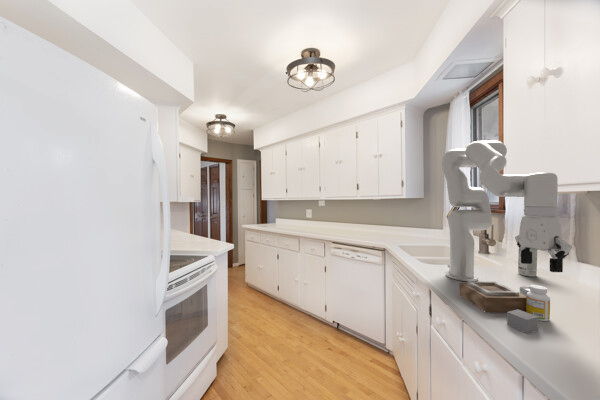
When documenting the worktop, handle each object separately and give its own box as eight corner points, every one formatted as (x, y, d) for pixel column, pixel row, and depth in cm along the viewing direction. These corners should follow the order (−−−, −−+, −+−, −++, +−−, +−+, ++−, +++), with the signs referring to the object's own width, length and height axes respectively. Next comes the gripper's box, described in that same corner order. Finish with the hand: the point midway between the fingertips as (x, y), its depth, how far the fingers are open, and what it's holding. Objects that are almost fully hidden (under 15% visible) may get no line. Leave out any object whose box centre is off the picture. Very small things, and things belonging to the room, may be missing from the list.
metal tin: (515, 294, 98) (515, 286, 98) (530, 294, 98) (531, 286, 98) (529, 300, 92) (529, 292, 92) (545, 300, 92) (546, 292, 92)
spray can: (518, 271, 125) (519, 232, 125) (537, 274, 120) (538, 233, 120) (517, 274, 120) (518, 233, 120) (536, 278, 116) (537, 235, 115)
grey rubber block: (507, 325, 74) (507, 311, 74) (518, 322, 76) (518, 309, 76) (526, 334, 70) (527, 319, 70) (538, 330, 71) (538, 316, 71)
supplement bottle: (537, 313, 82) (538, 283, 81) (554, 321, 76) (555, 290, 76) (521, 313, 81) (522, 284, 81) (537, 321, 76) (538, 290, 76)
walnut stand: (459, 295, 96) (459, 279, 96) (496, 295, 96) (496, 280, 96) (485, 312, 82) (486, 294, 82) (529, 312, 82) (529, 294, 82)
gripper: (505, 211, 87) (505, 260, 87) (556, 214, 69) (556, 275, 69) (527, 211, 87) (527, 260, 87) (583, 214, 69) (583, 276, 69)
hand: (540, 267), depth 78 cm, fingers open, 9 cm apart
